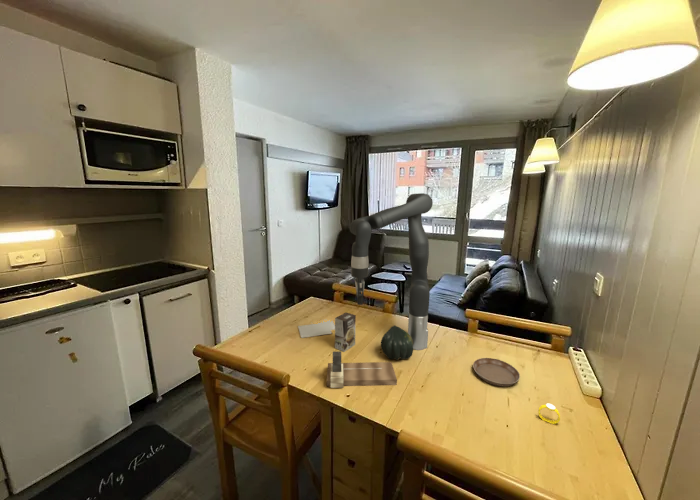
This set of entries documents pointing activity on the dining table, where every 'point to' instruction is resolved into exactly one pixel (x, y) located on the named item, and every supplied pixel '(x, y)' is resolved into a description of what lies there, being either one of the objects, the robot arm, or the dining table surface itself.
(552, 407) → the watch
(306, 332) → the paper stack
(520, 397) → the dining table surface
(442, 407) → the dining table surface
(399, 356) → the squash
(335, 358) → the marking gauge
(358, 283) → the robot arm
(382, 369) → the walnut board
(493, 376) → the plant saucer
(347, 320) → the coffee box
